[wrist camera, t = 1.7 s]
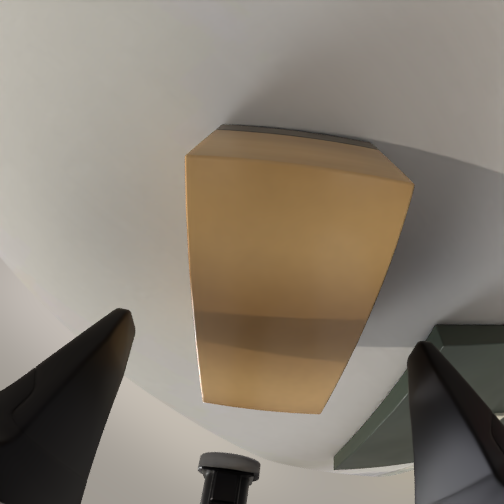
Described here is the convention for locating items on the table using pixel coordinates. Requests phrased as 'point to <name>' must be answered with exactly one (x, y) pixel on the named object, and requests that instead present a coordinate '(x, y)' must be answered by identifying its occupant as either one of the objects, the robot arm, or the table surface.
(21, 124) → the table surface
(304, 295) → the tan rectangular block
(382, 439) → the chalkboard
